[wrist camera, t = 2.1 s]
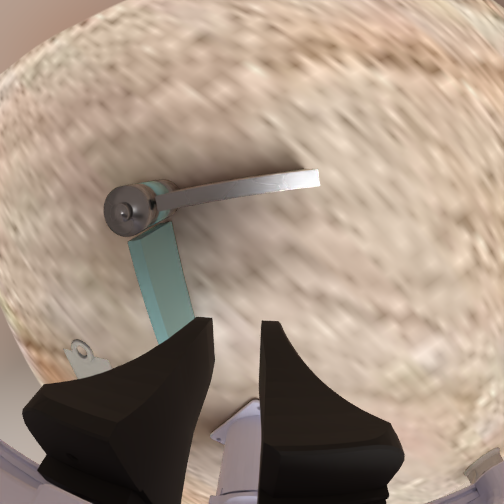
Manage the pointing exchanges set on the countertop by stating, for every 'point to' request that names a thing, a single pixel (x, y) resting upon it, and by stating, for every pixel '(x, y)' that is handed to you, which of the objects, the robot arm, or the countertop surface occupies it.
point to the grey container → (483, 465)
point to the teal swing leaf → (161, 275)
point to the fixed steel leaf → (191, 197)
